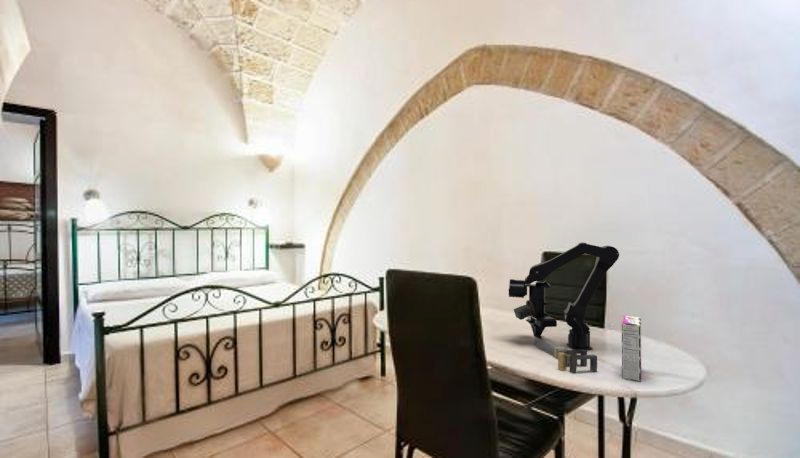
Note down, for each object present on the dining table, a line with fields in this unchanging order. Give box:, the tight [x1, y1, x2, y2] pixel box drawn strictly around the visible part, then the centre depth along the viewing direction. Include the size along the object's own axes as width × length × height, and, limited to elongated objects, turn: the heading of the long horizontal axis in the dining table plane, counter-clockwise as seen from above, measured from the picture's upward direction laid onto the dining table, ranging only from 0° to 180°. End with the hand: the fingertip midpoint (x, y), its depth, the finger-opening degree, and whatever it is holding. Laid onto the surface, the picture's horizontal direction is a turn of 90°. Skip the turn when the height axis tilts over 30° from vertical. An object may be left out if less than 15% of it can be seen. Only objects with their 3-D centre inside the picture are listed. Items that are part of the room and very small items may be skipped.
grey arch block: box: [561, 349, 588, 368], centre depth 124 cm, size 8×2×5 cm, turn 98°
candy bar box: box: [621, 315, 642, 382], centre depth 117 cm, size 11×5×16 cm, turn 148°
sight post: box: [557, 352, 571, 371], centre depth 121 cm, size 4×2×5 cm, turn 98°
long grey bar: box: [533, 335, 578, 366], centre depth 136 cm, size 22×3×3 cm, turn 9°
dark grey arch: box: [569, 353, 598, 374], centre depth 119 cm, size 8×2×5 cm, turn 98°
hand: (536, 339), depth 148 cm, fingers closed
